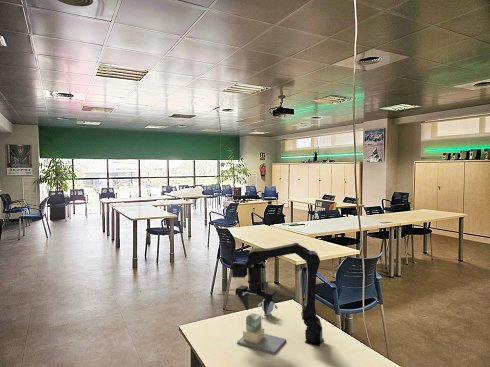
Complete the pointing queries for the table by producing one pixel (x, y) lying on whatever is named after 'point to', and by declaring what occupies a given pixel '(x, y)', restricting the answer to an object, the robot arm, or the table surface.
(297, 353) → the table surface
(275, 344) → the build plate
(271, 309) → the toy figure
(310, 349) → the table surface
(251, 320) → the sage block
